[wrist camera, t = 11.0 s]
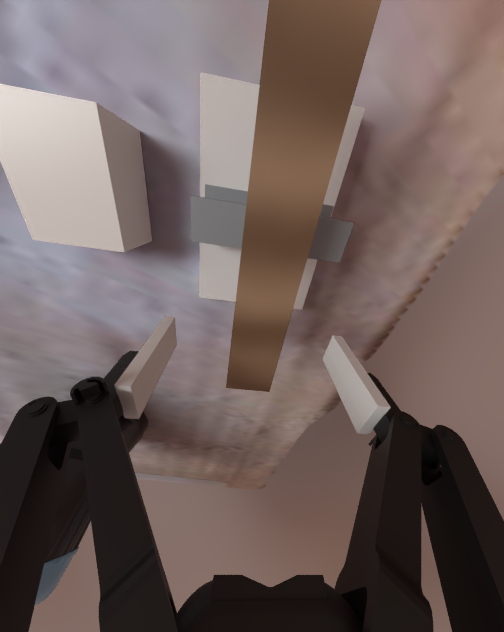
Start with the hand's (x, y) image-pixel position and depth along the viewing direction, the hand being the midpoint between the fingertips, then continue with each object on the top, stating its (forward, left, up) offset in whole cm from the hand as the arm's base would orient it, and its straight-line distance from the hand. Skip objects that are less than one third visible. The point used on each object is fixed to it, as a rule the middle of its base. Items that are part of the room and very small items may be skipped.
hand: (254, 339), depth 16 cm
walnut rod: (+8, 0, -3) cm, 9 cm away
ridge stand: (+8, 0, -12) cm, 14 cm away
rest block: (+9, +17, -12) cm, 23 cm away
